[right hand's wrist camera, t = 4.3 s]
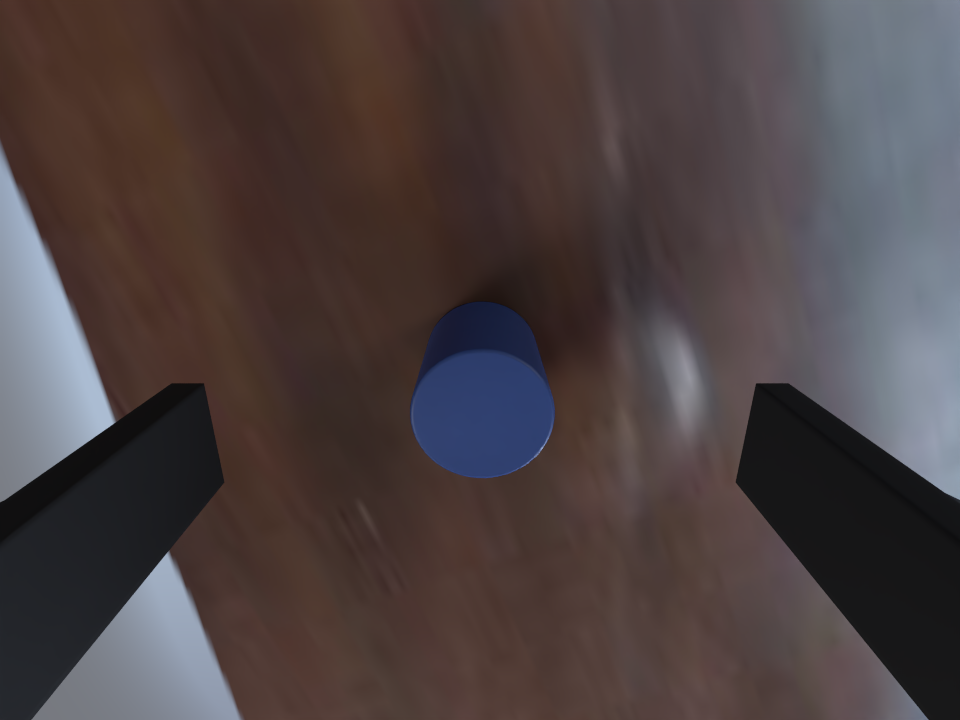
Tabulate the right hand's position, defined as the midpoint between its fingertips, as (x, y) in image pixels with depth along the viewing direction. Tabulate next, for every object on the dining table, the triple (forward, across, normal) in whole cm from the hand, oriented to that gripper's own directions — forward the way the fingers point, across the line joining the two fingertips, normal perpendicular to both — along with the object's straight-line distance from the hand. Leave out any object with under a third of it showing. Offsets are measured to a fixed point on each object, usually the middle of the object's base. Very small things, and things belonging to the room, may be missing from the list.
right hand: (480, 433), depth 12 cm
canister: (+5, 0, 0) cm, 5 cm away
